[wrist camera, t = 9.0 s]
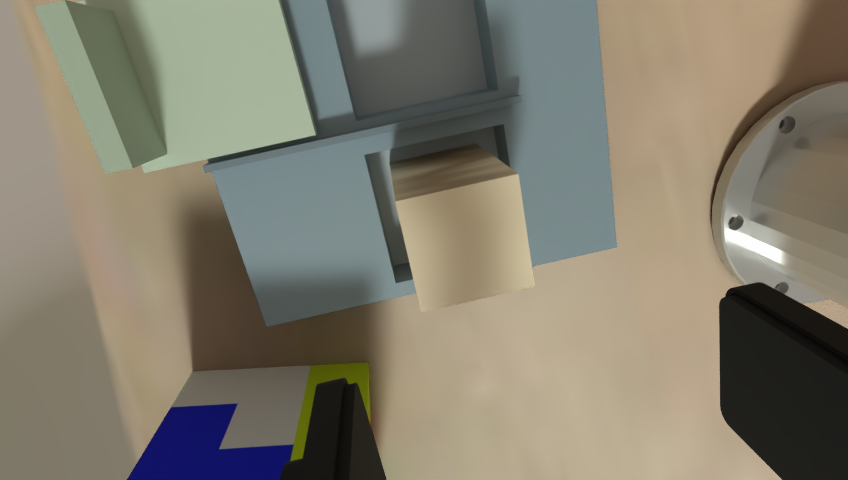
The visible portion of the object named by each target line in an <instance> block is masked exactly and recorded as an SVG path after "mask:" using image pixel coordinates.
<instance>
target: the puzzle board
mask: <svg viewBox="0 0 848 480" xmlns="http://www.w3.org/2000/svg"><path fill="white" fill-rule="evenodd" d="M281 3H282V7H283V10H284V14H285V18H286V21H287V25H288V29H289V32H290V36H291V39H292V43H293V47H294V50H295V54H296V58H297V61H298V65H299V69H300V72H301V76H302V80H303V83H304V87H305V91H306V94H307V98H308V101H309V105H310V109H311V112H312V116H313V120H314V123H315V127H316V131H317V134H316V135H314V136H309V137H305V138H300V139H296V140H291V141H287V142H282V143H278V144H273V145H269V146H264V147H260V148H255V149H251V150H246V151H242V152H237V153H233V154H228V155H224V156H219V157H215V158H210V159H207V160H208V162H209V163H207V164H206V165H204V166H203V168H204V171H205V173H207V172H211V171H212V174H213V177H214V179H215V182H216V185H217V188H218V191H219V194H220V196H221V199H222V202H223V205H224V208H225V211H226V214H227V216H228V219H229V222H230V225H231V228H232V231H233V233H234V236H235V239H236V242H237V245H238V248H239V250H240V253H241V256H242V259H243V262H244V265H245V267H246V270H247V273H248V276H249V279H250V282H251V284H252V287H253V290H254V293H255V296H256V299H257V301H258V304H259V307H260V310H261V313H262V316H263V318H264V321H265V324H266V327H269V326H274V325H278V324H282V323H287V322H291V321H296V320H300V319H304V318H309V317H313V316H318V315H322V314H326V313H331V312H335V311H339V310H344V309H348V308H353V307H357V306H361V305H366V304H370V303H374V302H379V301H383V300H388V299H392V298H396V297H401V296H405V295H409V294H414V293H416V289H415V284H414V280H413V276H412V271H411V267H410V263H409V259H408V254H407V250H406V246H405V241H404V237H403V233H402V229H401V224H400V220H399V216H398V211H397V207H396V203H395V197H394V190H393V184H392V177H391V171H390V164H389V163H390V162H394V161H399V160H403V159H407V158H412V157H416V156H421V155H425V154H430V153H434V152H439V151H443V150H448V149H452V148H457V147H461V146H466V145H470V144H475V143H477V144H478V145H479V146H481V147H482V148H483V149H485V150H486V151H488V152H489V153H490V154H492V155H493V156H495V157H496V158H497V159H499V160H500V161H501V162H503V163H504V164H506V165H507V166H508V167H510V168H511V169H512V170H514V171H515V172H517V173H518V174H519V181H520V187H521V194H522V201H523V208H524V215H525V222H526V229H527V236H528V243H529V249H530V256H531V263H532V266H536V265H541V264H545V263H550V262H554V261H558V260H563V259H567V258H571V257H576V256H580V255H585V254H589V253H593V252H598V251H602V250H606V249H611V248H615V247H617V242H616V230H615V218H614V206H613V194H612V182H611V170H610V158H609V146H608V133H607V121H606V109H605V97H604V85H603V73H602V61H601V49H600V36H599V24H598V12H597V0H281Z"/></svg>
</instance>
